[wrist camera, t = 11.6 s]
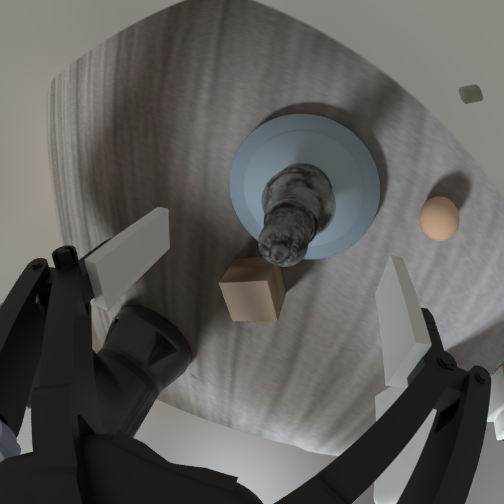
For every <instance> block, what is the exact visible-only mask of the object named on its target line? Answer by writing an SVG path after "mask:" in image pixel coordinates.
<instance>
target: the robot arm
mask: <svg viewBox="0 0 504 504" xmlns="http://www.w3.org/2000/svg"><path fill="white" fill-rule="evenodd" d="M169 249H170V238H169V210H168V209H167V208H162V207H157V208H155V209H154V210H152V211H151V212H149V213H148V214H146V215H145V216H144V217H142V218H141V219H139V220H138V221H136V222H135V223H133V224H132V225H130V226H129V227H128V228H126V229H125V230H123V231H122V232H121V233H119V234H118V235H116V236H115V237H114V238H111V239H108V240H106V241H104V242H103V243H101V244H100V245H98V247H96V248H94V249H93V250H92V251H90V252H89V253H88V254H86V255H85V256H84V257H83V258H81V259H80V260H79V261H78V257H77V252H76V248H75V247H74V246H70V245H68V246H62V247H60V248H58V249H56V250H55V251H53V253H52V258H53V261H54V265H55V268H52V267H49V266H48V263H47V260H46V259H43V258H37V259H35V260H33V261H32V262H30V263H29V264H28V265H27V267H26V268H25V269H24V271H23V272H22V274H21V275H20V277H19V278H18V280H17V281H16V283H15V285H14V286H13V288H12V290H11V291H10V293H9V294H8V296H7V298H6V299H5V301H4V302H3V303H2V304H0V504H263V503H262V501H261V500H260V499H259V498H258V497H257V496H256V495H255V494H254V493H253V492H251V491H250V490H249V489H247V488H246V487H245V486H243V485H240V484H239V483H237V478H238V477H234V476H231V475H227V474H224V473H220V472H217V471H214V470H210V469H207V468H202V467H194V466H186V465H179V464H173V463H170V462H168V461H167V460H165V459H164V458H163V457H161V456H160V455H159V454H157V453H156V452H155V451H153V450H152V449H151V448H149V447H148V446H147V445H146V444H144V443H143V442H141V441H138V440H136V439H134V436H135V434H136V432H137V431H138V429H139V427H140V426H141V424H142V422H143V421H144V419H145V417H146V415H147V414H148V412H149V410H150V409H151V407H152V405H153V404H154V402H155V400H156V398H157V397H158V395H159V394H160V392H161V391H162V390H163V389H164V388H166V387H167V386H168V385H170V384H171V383H172V382H173V381H175V380H176V379H177V378H178V377H180V376H181V375H182V374H183V373H184V372H185V371H186V369H187V367H188V365H189V364H190V362H191V358H192V355H191V350H190V347H189V345H188V343H187V342H186V340H185V339H184V337H183V336H182V335H181V333H180V332H179V331H178V330H177V329H176V328H175V327H174V326H173V325H172V324H170V323H169V322H168V321H167V320H165V319H164V318H163V317H161V316H159V315H158V314H156V313H154V312H152V311H150V310H148V309H145V308H143V307H139V306H126V307H124V308H122V309H121V310H120V311H119V312H118V314H117V315H116V316H115V317H114V318H113V320H112V323H111V325H110V328H109V331H108V333H107V336H106V339H105V341H104V344H103V347H102V348H101V349H100V351H99V352H98V353H97V354H96V353H95V351H94V350H93V349H92V323H91V304H90V301H91V300H92V299H93V298H95V302H96V305H97V307H100V308H102V309H104V310H107V311H108V310H109V309H110V308H111V307H112V306H113V305H114V304H115V303H116V302H117V301H118V300H119V299H120V298H121V297H122V296H123V295H124V294H125V293H126V292H127V290H128V289H129V288H130V287H131V286H132V285H133V284H134V283H135V282H136V281H137V280H138V279H139V278H140V277H141V276H142V275H143V274H144V273H145V272H146V271H147V270H148V269H149V268H150V267H151V266H152V265H153V264H154V263H155V262H156V261H157V260H158V259H159V258H160V257H161V256H162V255H163V254H164V253H166V252H167V251H168V250H169ZM375 298H376V305H377V311H378V318H379V325H380V333H381V341H382V350H383V360H384V372H385V385H387V386H396V387H401V386H402V384H403V383H404V382H405V381H406V379H407V383H408V387H407V388H406V389H405V390H404V392H403V393H402V394H401V395H400V396H399V397H398V399H397V400H396V401H395V402H394V403H393V404H392V405H391V406H390V408H389V409H388V410H387V411H386V412H385V413H384V414H383V415H382V416H381V417H380V418H379V419H378V420H377V421H376V422H375V423H374V424H373V425H372V426H371V427H370V428H369V429H368V430H367V431H366V432H365V433H364V434H363V435H362V436H361V437H360V438H359V439H358V440H357V441H356V442H355V443H353V444H352V445H351V446H350V447H349V448H348V449H347V450H346V451H345V452H343V453H342V454H341V455H340V456H339V457H338V458H336V459H335V460H334V461H333V462H332V463H330V464H329V465H328V466H327V467H325V468H324V469H323V470H321V471H320V472H319V473H318V474H316V475H315V476H314V477H312V478H311V479H310V480H308V481H307V482H306V483H304V484H303V485H301V486H300V487H298V488H297V489H296V490H294V491H293V492H291V493H290V494H288V495H287V496H285V497H283V498H282V499H280V500H279V501H277V502H276V503H274V504H352V503H353V502H354V501H355V500H356V499H357V498H358V497H359V496H360V495H361V494H362V493H363V492H364V491H365V490H366V489H367V488H368V487H369V486H370V485H371V484H372V483H373V482H374V481H375V480H376V479H377V478H378V477H379V476H380V475H381V474H382V473H383V472H384V471H385V470H386V469H387V468H388V466H389V465H390V464H391V463H392V462H393V461H394V460H395V458H396V457H397V456H398V455H399V454H400V453H401V451H402V450H403V449H404V448H405V446H406V445H407V444H408V443H409V441H410V440H411V439H412V438H413V436H414V435H415V434H416V432H417V431H418V430H419V428H420V427H421V426H422V424H423V423H424V421H425V420H426V418H427V417H428V416H429V414H430V413H431V411H432V410H433V409H435V410H437V412H436V415H435V418H434V421H433V424H432V427H431V429H430V432H429V435H428V438H427V440H426V443H425V445H424V448H423V450H422V452H421V455H420V457H419V459H418V462H417V464H416V466H415V468H414V470H413V473H412V475H411V477H410V479H409V481H408V483H407V485H406V487H405V489H404V490H403V492H402V494H401V496H400V498H399V500H398V501H397V503H396V504H465V502H466V499H467V496H468V494H469V491H470V488H471V485H472V482H473V479H474V475H475V472H476V468H477V465H478V461H479V457H480V453H481V449H482V444H483V440H484V435H485V430H486V424H487V418H488V411H489V403H490V394H491V383H492V382H491V377H490V374H489V373H488V371H487V370H486V369H485V368H483V367H481V366H474V367H473V368H472V369H471V370H470V371H469V372H467V371H465V370H462V369H460V368H458V367H457V364H456V361H455V359H454V358H453V357H452V356H451V355H450V354H449V353H447V352H446V351H444V349H443V345H442V342H441V339H440V336H439V332H437V331H438V329H437V326H436V325H435V324H436V323H435V320H434V317H433V315H432V314H431V313H430V312H429V310H428V309H426V308H421V307H420V304H419V301H418V298H417V296H416V293H415V290H414V287H413V284H412V282H411V279H410V276H409V274H408V271H407V268H406V266H405V263H404V261H403V258H401V257H397V256H392V255H390V257H389V260H388V263H387V265H386V268H385V271H384V273H383V276H382V278H381V281H380V283H379V286H378V288H377V291H376V293H375ZM26 409H31V423H32V444H33V452H30V453H26V454H22V455H20V453H21V448H20V445H19V444H18V443H17V440H16V438H17V436H18V434H19V431H20V428H21V425H22V422H23V418H24V414H25V410H26Z"/></svg>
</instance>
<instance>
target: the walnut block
mask: <svg viewBox="0 0 504 504" xmlns="http://www.w3.org/2000/svg"><path fill="white" fill-rule="evenodd" d="M219 285H220V288H221V291H222V294H223V296H224V299H225V302H226V305H227V307H228V310H229V313H230V315H231V318H232V321H278V318H279V315H280V312H281V308H282V305H283V302H284V299H285V295H286V289H285V284H284V280H283V276H282V271H281V267H280V266H277V265H274V264H272V263H270V262H269V261H267V260H266V259H265V258H264V257H263V256H256V257H244V258H235V259H234V260H233V262H232V263H231V265H230V266H229V268H228V269H227V271H226V272H225V274H224V276H223V277H222V279H221V280H220V282H219Z"/></svg>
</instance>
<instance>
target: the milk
mask: <svg viewBox="0 0 504 504" xmlns="http://www.w3.org/2000/svg"><path fill="white" fill-rule="evenodd" d="M407 387H408V383H407V379H406V381H405V382H404V383H403V384H402V386H401V387H396V386H391V387H389V388H388V389H386V390H385V391H383V392H382V393H380V394H378V395H377V396H375V406H376V421H377V420H378V419H379V418H380V417H381V416H382V415H383V414H384V413H385V412H386V411H387V410H388V409H389V408H390V406H391V405H392V404H393V403H394V402H395V401H396V400H397V399H398V397H399V396H400V395H401V394H402V393H403V392H404V390H405V389H406V388H407ZM436 412H437V410H435V409H433V410H432V411H431V413H430V414H429V416H428V417H427V418H426V420H425V421H424V423H423V424H422V426H421V427H420V428H419V430H418V431H417V432H416V434H415V435H414V436H413V438H412V439H411V440H410V441H409V443H408V444H407V445H406V446H405V448H404V449H403V450H402V451H401V453H400V454H399V455H398V456H397V457H396V458H395V460H394V461H393V462H392V463H391V464H390V465H389V466H388V468H387V469H386V470H385V471H384V472H383V473H382V474H381V475H380V476H379V477H378V478H377V479H376V480H375V484H374V501H375V504H396V503H397V501H398V500H399V498H400V496H401V494H402V492H403V490H404V489H405V487H406V485H407V483H408V481H409V479H410V477H411V475H412V473H413V470H414V468H415V466H416V464H417V462H418V459H419V457H420V455H421V452H422V450H423V448H424V445H425V443H426V440H427V438H428V435H429V432H430V429H431V427H432V424H433V421H434V418H435V415H436ZM475 475H476V472H475ZM475 475H474V479H473V482H472V485H471V488H470V491H471V489H472V487H473V485H474V481H475ZM470 491H469V492H470Z"/></svg>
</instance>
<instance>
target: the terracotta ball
mask: <svg viewBox="0 0 504 504" xmlns="http://www.w3.org/2000/svg"><path fill="white" fill-rule="evenodd" d="M420 223H421V226H422V229H423V231H424V232H425V233H426V234H427V236H429V237H430V238H432V239H434V240H438V241H443V240H447V239H449V238H451V237H452V236H453V235H454V234H455V232H456V231H457V229H458V226H459V213H458V210H457V208H456V206H455V205H454V204H453V202H452V201H450V200H449V199H447V198H445V197H440V196H438V197H433V198H431V199H429V200H428V201H426V202H425V204H424V205H423V207H422V209H421V212H420Z"/></svg>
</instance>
